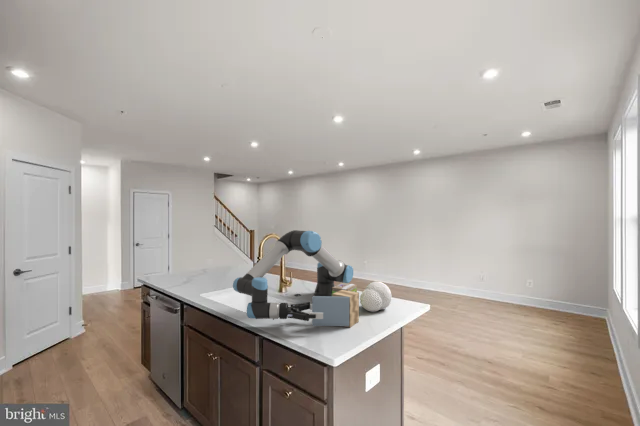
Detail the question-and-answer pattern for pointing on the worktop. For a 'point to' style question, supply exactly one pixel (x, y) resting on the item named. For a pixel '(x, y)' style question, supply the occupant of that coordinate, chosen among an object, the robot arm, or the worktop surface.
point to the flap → (331, 310)
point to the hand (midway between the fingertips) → (323, 311)
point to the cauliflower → (376, 297)
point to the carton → (350, 305)
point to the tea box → (344, 287)
